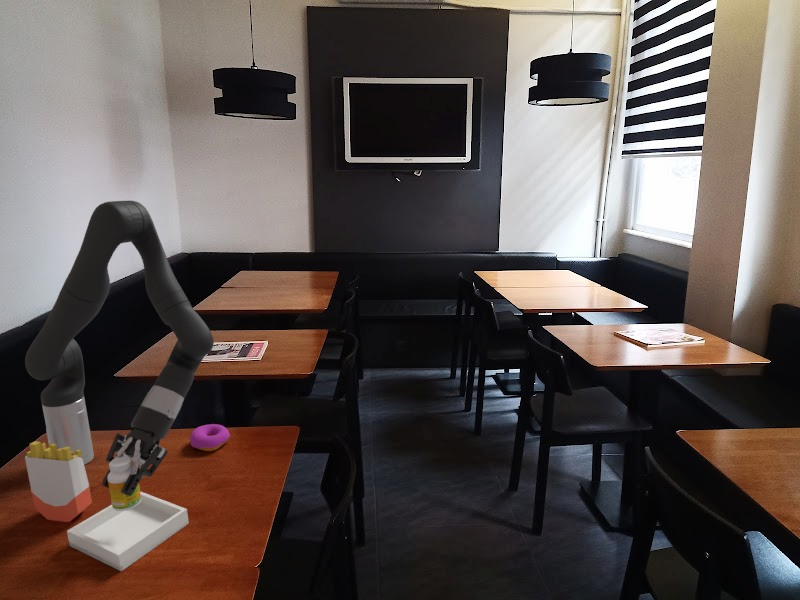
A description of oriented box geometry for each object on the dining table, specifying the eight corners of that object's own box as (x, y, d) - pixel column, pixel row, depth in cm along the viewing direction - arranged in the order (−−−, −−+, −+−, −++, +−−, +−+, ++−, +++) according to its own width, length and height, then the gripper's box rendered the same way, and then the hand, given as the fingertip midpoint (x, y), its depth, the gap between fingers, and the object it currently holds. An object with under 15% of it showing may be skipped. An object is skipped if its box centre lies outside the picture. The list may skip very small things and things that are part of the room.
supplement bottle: (130, 513, 110) (122, 469, 108) (106, 510, 111) (98, 467, 109) (147, 497, 115) (140, 455, 113) (124, 495, 117) (117, 453, 114)
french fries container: (53, 506, 125) (39, 433, 121) (95, 511, 123) (82, 437, 119) (36, 518, 121) (21, 443, 117) (79, 523, 119) (65, 447, 115)
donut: (212, 456, 146) (211, 440, 145) (182, 450, 150) (180, 434, 148) (237, 438, 155) (236, 423, 154) (208, 433, 159) (206, 418, 158)
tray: (69, 545, 112) (66, 530, 111) (138, 503, 126) (136, 489, 125) (121, 571, 104) (118, 555, 104) (188, 523, 118) (186, 509, 117)
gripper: (123, 399, 119) (78, 477, 111) (169, 411, 112) (125, 495, 105) (148, 412, 124) (107, 487, 117) (193, 424, 118) (153, 504, 110)
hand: (116, 490), depth 111 cm, fingers closed on supplement bottle, 5 cm apart
